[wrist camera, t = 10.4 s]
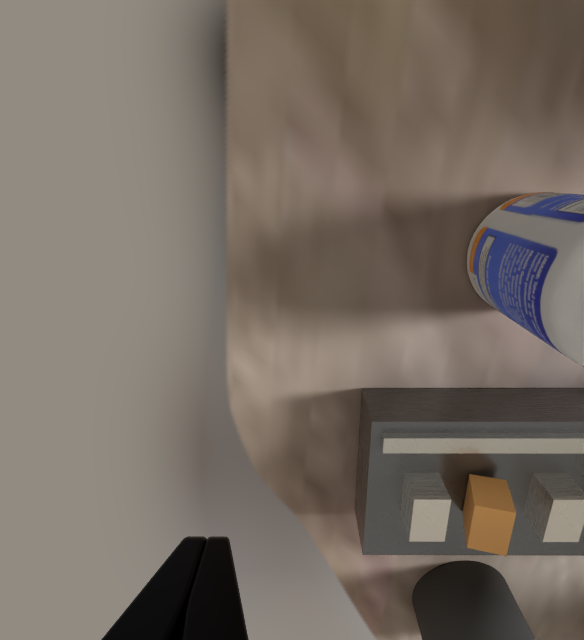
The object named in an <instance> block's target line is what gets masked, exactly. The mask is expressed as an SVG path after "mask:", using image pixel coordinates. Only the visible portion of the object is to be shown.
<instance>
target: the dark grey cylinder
mask: <svg viewBox="0 0 584 640" xmlns="http://www.w3.org/2000/svg"><path fill="white" fill-rule="evenodd" d="M412 601H413V606H414V610H415V613H416V617H417V621H418V624H419V628H420V632H421V636H422V639H423V640H535V638H534V636H533V634H532V632H531V630H530V628H529V626H528V624H527V622H526V620H525V618H524V616H523V614H522V612H521V611H520V609H519V607H518V605H517V603H516V601H515V599H514V597H513V595H512V593H511V591H510V589H509V587H508V585H507V583H506V581H505V579H504V577H503V576H502V575H501V574H500V573H499V572H498V571H497V570H496V569H494V568H493V567H491V566H489V565H486V564H484V563H480V562H475V561H457V562H451V563H447V564H444V565H441V566H439V567H436V568H434V569H433V570H431V571H429V572H428V573H427V574H425V575H424V576H423V577H422V578H421V579H420V580H419V582H418V583H417V585H416V586H415V588H414V591H413V595H412Z"/></svg>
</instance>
